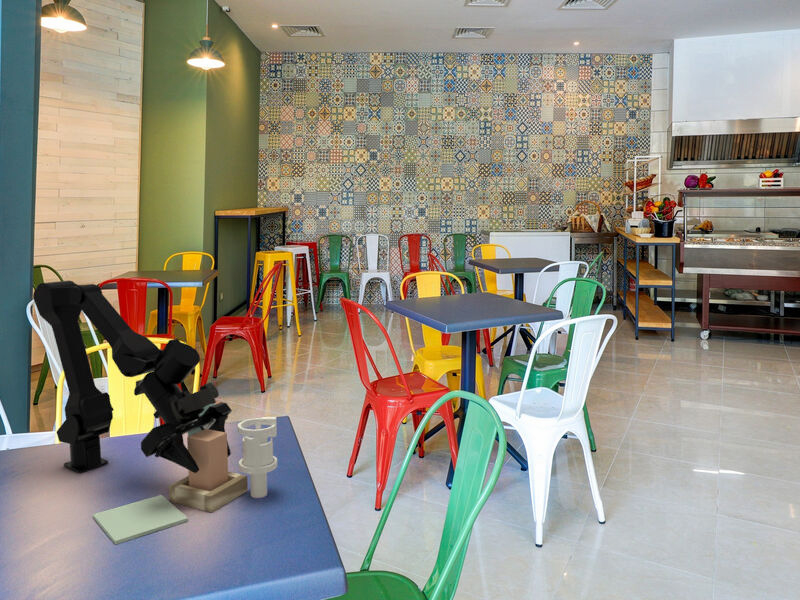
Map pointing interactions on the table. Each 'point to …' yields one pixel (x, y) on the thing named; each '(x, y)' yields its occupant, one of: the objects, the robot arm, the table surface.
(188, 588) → the table surface
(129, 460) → the table surface
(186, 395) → the robot arm
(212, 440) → the block
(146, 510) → the mat
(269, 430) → the white flanged cylinder housing
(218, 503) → the pocket frame
